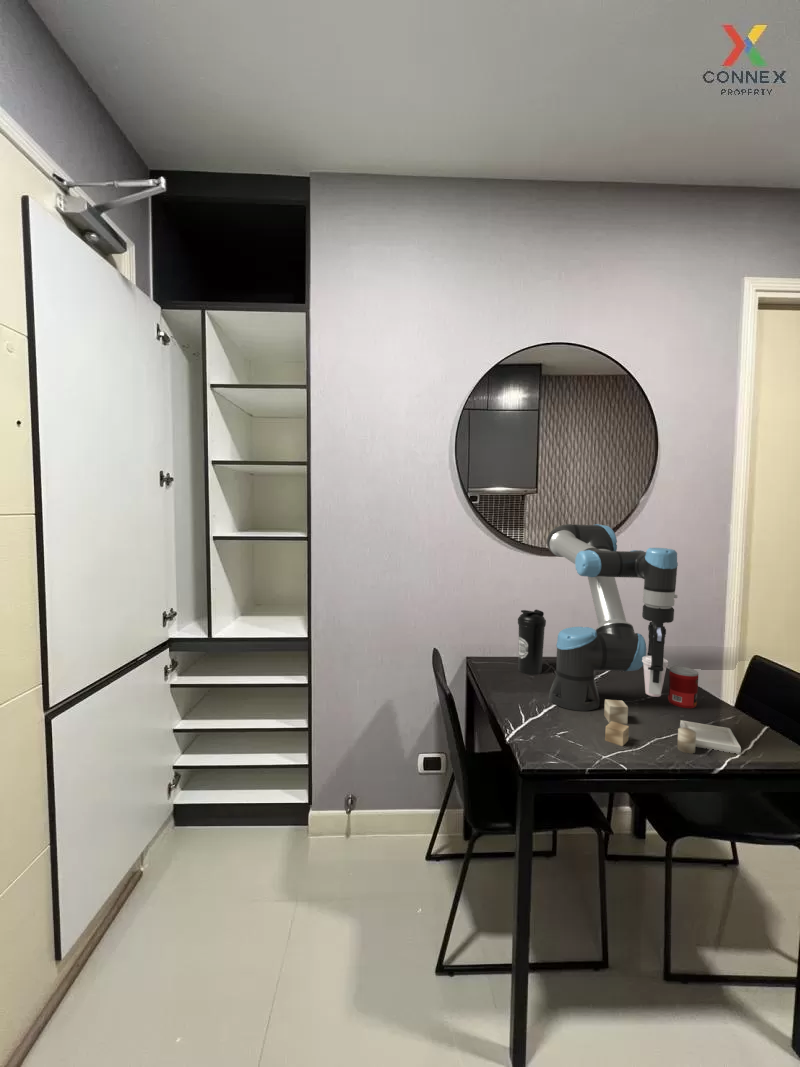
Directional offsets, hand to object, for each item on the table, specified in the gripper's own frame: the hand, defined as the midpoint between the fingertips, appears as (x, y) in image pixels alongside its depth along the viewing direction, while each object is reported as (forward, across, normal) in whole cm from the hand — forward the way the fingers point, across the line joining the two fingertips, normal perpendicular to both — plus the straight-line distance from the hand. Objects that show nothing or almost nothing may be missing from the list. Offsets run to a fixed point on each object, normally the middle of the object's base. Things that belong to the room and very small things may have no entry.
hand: (653, 688), depth 134 cm
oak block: (+13, -8, +9) cm, 18 cm away
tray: (+13, +3, -14) cm, 20 cm away
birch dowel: (+13, -6, -8) cm, 16 cm away
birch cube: (+13, +6, +9) cm, 17 cm away
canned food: (+14, +28, -11) cm, 33 cm away
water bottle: (+14, +39, +38) cm, 56 cm away
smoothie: (+2, 0, 0) cm, 2 cm away
